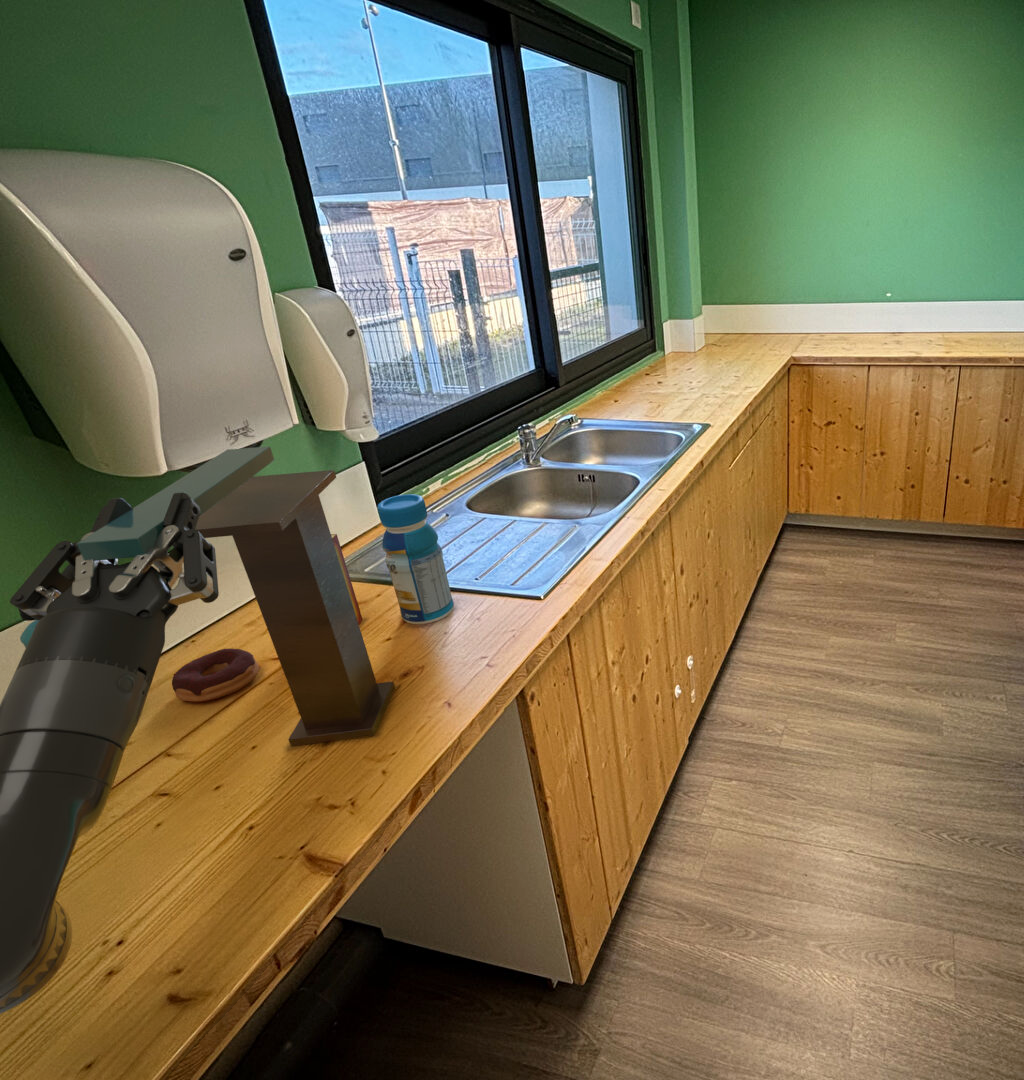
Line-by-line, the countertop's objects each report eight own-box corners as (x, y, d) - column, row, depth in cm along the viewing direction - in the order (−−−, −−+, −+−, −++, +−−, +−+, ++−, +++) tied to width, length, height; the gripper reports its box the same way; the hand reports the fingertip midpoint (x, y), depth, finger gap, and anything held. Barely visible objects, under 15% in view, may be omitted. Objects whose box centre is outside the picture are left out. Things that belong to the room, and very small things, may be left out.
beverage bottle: (452, 622, 113) (424, 508, 104) (396, 630, 111) (364, 515, 103) (458, 596, 120) (433, 488, 112) (406, 603, 119) (377, 494, 110)
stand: (322, 692, 97) (246, 476, 84) (397, 683, 99) (334, 469, 85) (273, 775, 83) (172, 531, 69) (361, 764, 84) (279, 522, 70)
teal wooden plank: (231, 463, 76) (226, 449, 75) (274, 460, 76) (270, 446, 76) (84, 561, 54) (75, 543, 54) (145, 556, 55) (137, 538, 54)
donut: (260, 656, 106) (251, 634, 104) (262, 689, 99) (253, 666, 97) (180, 680, 101) (169, 657, 100) (176, 716, 94) (164, 693, 92)
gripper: (14, 718, 52) (95, 534, 62) (217, 694, 54) (265, 519, 64) (-75, 677, 46) (30, 480, 56) (157, 652, 48) (221, 464, 58)
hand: (155, 501), depth 60 cm, fingers closed on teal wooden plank, 4 cm apart
